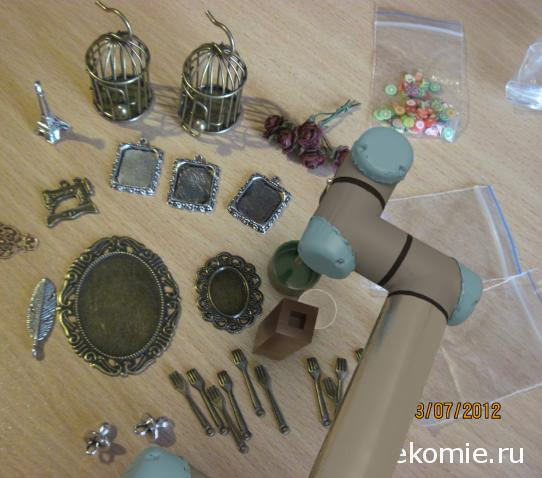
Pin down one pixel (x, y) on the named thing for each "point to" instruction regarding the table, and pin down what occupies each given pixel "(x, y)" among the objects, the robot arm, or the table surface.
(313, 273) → the bowl
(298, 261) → the stick
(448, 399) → the table surface
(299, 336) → the stand
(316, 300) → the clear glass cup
